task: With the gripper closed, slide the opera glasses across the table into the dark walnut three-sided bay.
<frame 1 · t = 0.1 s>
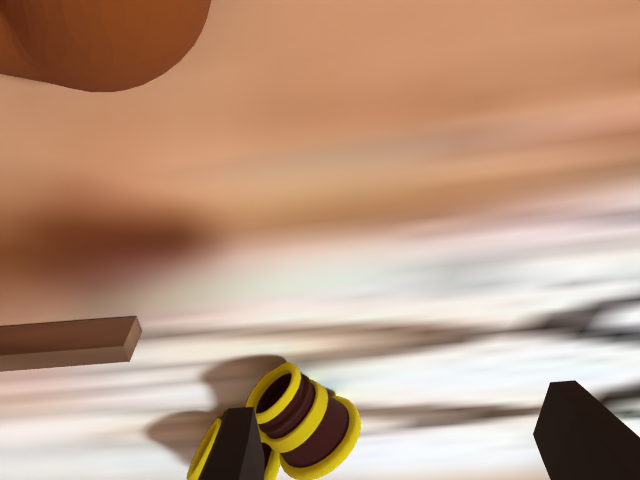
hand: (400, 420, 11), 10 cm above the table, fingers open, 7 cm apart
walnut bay: (37, 429, 26), on the table
opera glasses: (269, 406, 26), on the table
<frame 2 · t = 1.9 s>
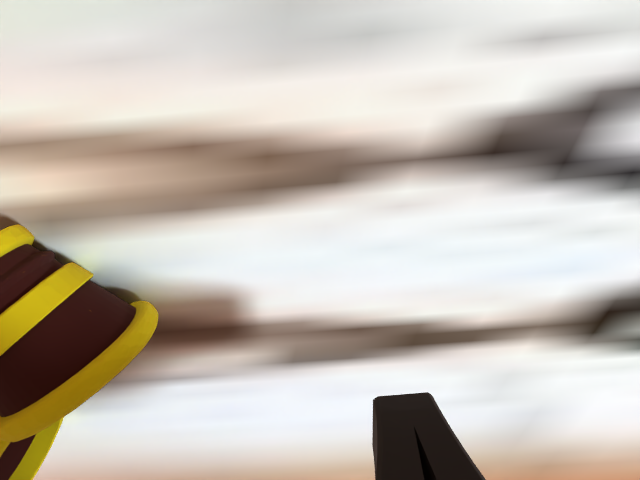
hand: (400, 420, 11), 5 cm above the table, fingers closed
opera glasses: (38, 327, 15), on the table
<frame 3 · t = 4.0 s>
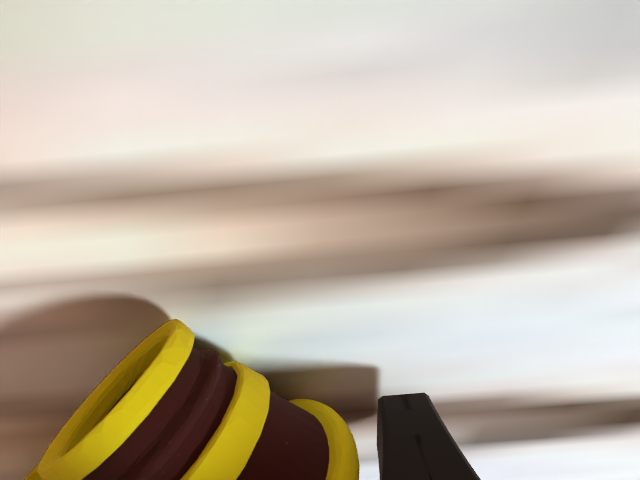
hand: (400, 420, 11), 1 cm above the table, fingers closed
opera glasses: (165, 424, 12), on the table, touching gripper
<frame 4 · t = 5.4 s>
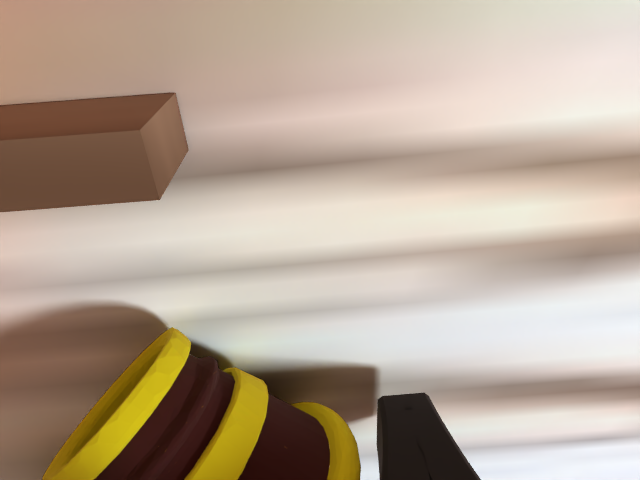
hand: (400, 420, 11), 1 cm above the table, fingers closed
opera glasses: (174, 431, 12), on the table, touching gripper
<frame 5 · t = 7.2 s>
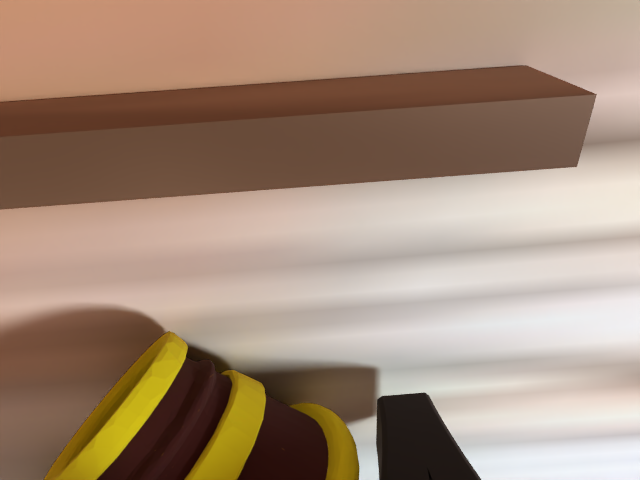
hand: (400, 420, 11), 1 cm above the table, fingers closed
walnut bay: (165, 409, 11), on the table
opera glasses: (175, 434, 12), on the table, touching gripper
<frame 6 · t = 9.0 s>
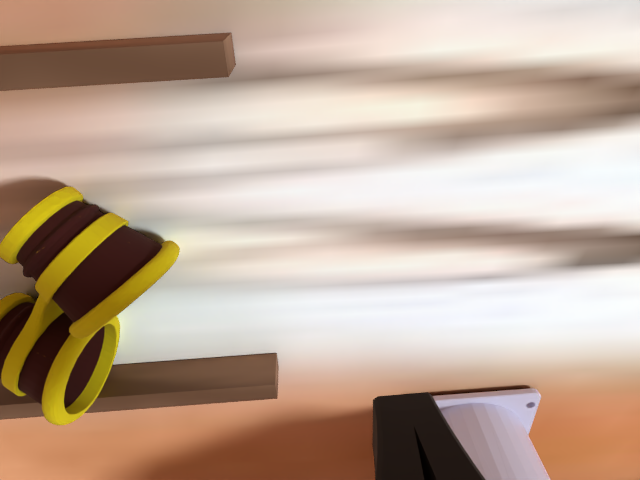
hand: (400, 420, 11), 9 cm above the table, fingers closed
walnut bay: (72, 250, 19), on the table
opera glasses: (92, 274, 20), on the table
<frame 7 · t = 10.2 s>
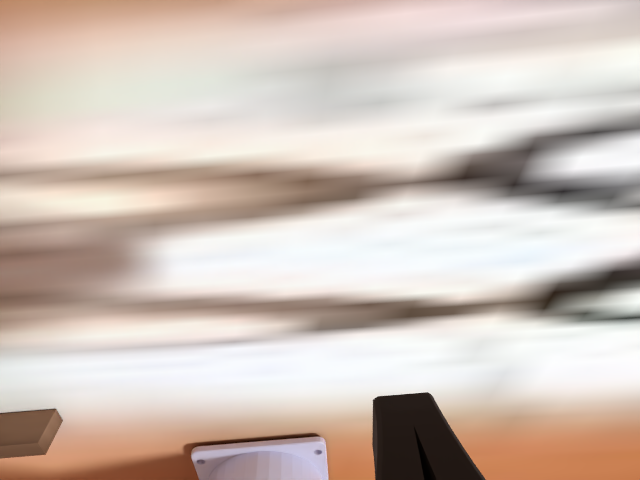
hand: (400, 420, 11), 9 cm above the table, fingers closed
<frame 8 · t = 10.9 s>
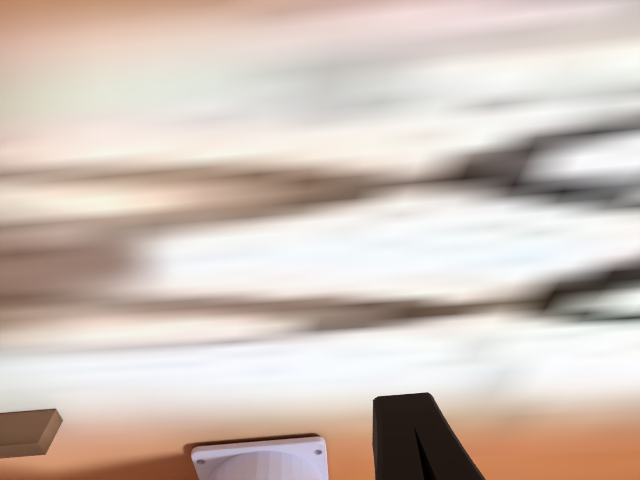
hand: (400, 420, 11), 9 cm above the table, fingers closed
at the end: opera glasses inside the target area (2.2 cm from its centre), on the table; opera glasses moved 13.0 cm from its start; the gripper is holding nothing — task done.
